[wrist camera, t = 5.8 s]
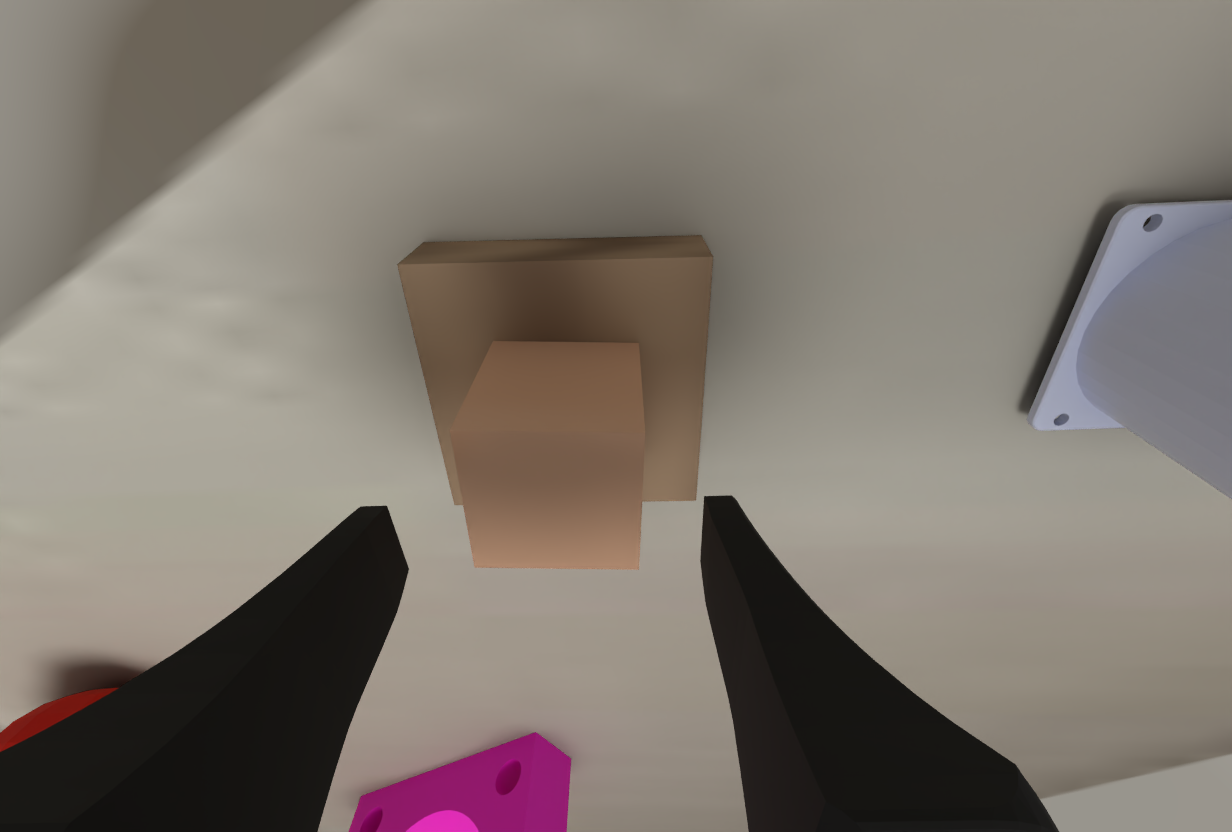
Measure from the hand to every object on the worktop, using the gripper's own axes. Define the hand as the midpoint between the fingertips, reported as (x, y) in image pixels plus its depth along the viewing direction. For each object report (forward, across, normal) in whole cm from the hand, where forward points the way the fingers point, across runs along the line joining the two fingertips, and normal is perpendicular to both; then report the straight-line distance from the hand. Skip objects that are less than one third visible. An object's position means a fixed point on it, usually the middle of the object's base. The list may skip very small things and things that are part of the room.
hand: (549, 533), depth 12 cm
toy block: (+9, +9, +31) cm, 34 cm away
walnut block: (+9, 0, 0) cm, 9 cm away
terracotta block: (+6, 0, 0) cm, 6 cm away
